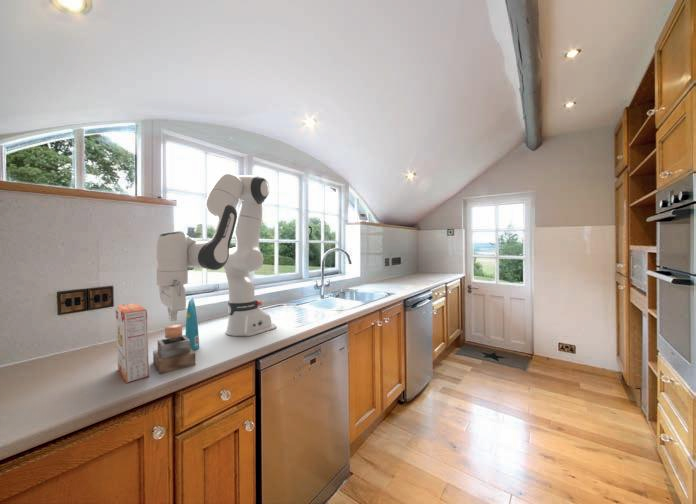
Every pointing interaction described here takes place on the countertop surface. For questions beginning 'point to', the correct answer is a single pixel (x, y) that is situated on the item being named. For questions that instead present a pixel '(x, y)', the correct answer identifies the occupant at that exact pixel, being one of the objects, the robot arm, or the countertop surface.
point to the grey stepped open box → (173, 355)
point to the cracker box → (132, 341)
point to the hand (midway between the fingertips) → (172, 320)
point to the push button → (173, 332)
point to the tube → (192, 326)
